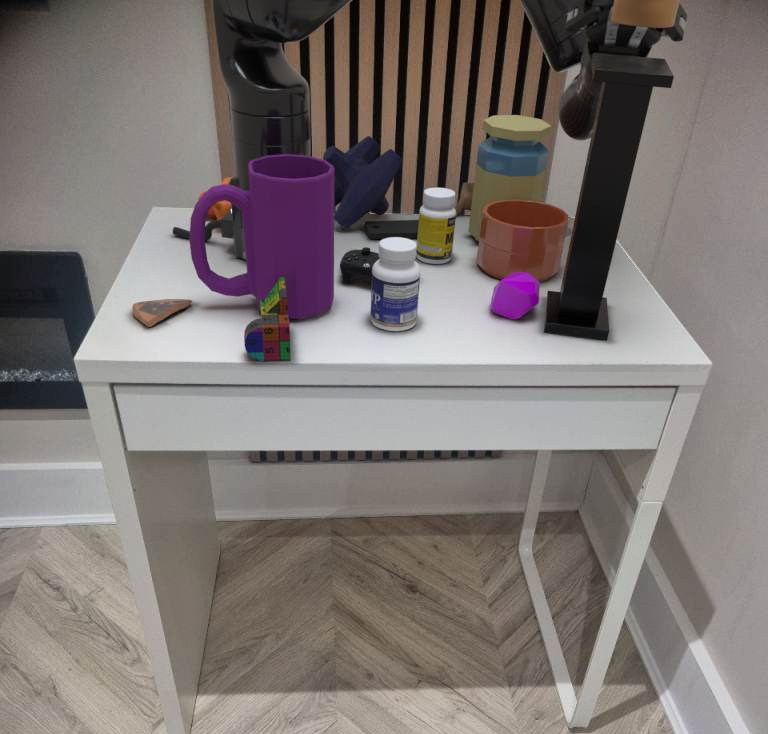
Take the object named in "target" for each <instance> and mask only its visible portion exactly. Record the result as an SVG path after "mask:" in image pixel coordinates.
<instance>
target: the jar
mask: <svg viewBox="0 0 768 734" xmlns="http://www.w3.org/2000/svg"><path fill="white" fill-rule="evenodd" d="M481 129H482V130H483V131H484V132H485V133H486V134H488V136H489V137H487V138H486V139H484V140H483V141H481V142H480V143H479V144H478V145H477V155H476V163H475V172H474V182H473V183H474V188H473V197H472V206H471V211H470V214H469V223H468V232H469V233H470V234H471V236H473V237H474V239H475V240H476V241H478V242H479V237H480V229H481V221H482V213H483V209H484V206H486V205H487V204H489V203H491V202H495V201H500V200H513V199H521V200H530V201H537V202H541V199H542V194H543V190H544V189H543V188H544V182H545V177H546V171H547V165H548V159H549V155H550V150H549V149H548V148H547V147H546V146H545V145H544V144H543V143H542V142H541V141H542V140H543V139H545V138H548V137H549V136H550V135H551V130H552V125H551V124H549V123H547V122H546V121H545V120H543V119H541V118H536V117H531V116H525V115H519V114H495V115H491V116H489V117H487V118H484V119H483V120H482V128H481Z"/></svg>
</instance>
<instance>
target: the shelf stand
mask: <svg viewBox="0 0 768 734" xmlns="http://www.w3.org/2000/svg"><path fill="white" fill-rule="evenodd" d="M591 67H592V77H593V81H595V82H602V86H601V91H600V96H599V101H598V106H597V111H596V116H595V121H594V126H593V131H592V136H591V138H590V142H589V146H588V151H587V156H586V161H585V166H584V171H583V175H582V179H581V186H580V191H579V195H578V199H577V200H578V201H577V205H576V209H575V215H574V220H573V225H572V231H571V235H570V239H569V240H570V241H569V245H568V250H567V255H566V260H565V265H564V269H563V275H562V281H561V285H560V289H559V291H555V290H547V293H546V297H545V308H544V326H543V333H546V334H553V335H561V336H568V337H569V336H570V337H576V338H584V339H593V340H601V341H608V339H609V335H610V321H609V320H610V319H609V307H608V297H604V294H605V289H606V285H607V281H608V276H609V274H610V269H611V265H612V260H613V256H614V252H615V247H616V243H617V240H618V236H619V231H620V227H621V222H622V218H623V214H624V210H625V207H626V202H627V198H628V193H629V189H630V185H631V181H632V178H633V172H634V169H635V164H636V160H637V157H638V151H639V148H640V144H641V140H642V135H643V131H644V127H645V123H646V118H647V115H648V110H649V105H650V101H651V97H652V94H653V91H654V90H653V89H654V88H663V89H664V88H665V89H672V86H673V83H674V78H675V75H674V74H673V71H672V69H671V68H670V66H669V64H668V62H667V60H666V58H658V57H637V56H625V55H613V54H601V53H593V56H592V62H591Z"/></svg>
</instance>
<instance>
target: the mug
mask: <svg viewBox="0 0 768 734" xmlns="http://www.w3.org/2000/svg"><path fill="white" fill-rule="evenodd" d="M248 170H249V186H250V190H247V191H244V190H242V189H240V188H238V187H236V186H232V185H226V184H222V185H220V184H218V185H213V186H211V187H209V189H207V190H206V192H205V191H204V192H205V193H204V194H203V196H202V197H201V198H200V199H199V201H198V200H197V202H196V203H195V205H194V207H193V210H192V213H191V216H190V225H189V231H190V238H189V239H188V240H189V241H188V242H189V248H190V255H191V256H190V257H191V261H192V264H193V266H194V270H195V272H196V276H197V278H198V279H199V280H200V281H201V282H202V283H203V284H204V285H205V286H206V287H207V288H208V289H209V290H210V291H211V292H214V293H216V294H218V295H219V294H220V295H223V296H228V297H236V298H237V297H239V298H240V297H243V296H247V295H252V296H254V297H255V298H256V305H257V307H258V309H259V311H261V304H260V301H265V299H266V298H267V296H268V295H269V293H270V292H271V290H272V289H273V287H274V286H275V285H276V283H277V282H278V280H279V279H280V277H285V284H286V291H287V303H288V318H289V319H293V320H298V319H299V320H300V319H305V318H311V317H313V318H314V317H317V316H318V315H320V314H322V313H324V312H326V311H329V309H331V307H332V304H333V301H334V298H335V219H334V215H335V207H334V184H335V169H334V167H333V166H332V165H331V164H330V163H328V162H327V161H326V160H323V158H318V157H314V156H312V155H311V156H306V155H293V154H281V155H268V156H264V157H261V158H257V159H254V160H251V161H250V162H249V164H248ZM224 200H226V201H228V202H230V203H232V204H233V205H235V206H236V207H238V208H239V209H240V210H242V218H243V229H244V241H245V253H246V260H245V263H246V272H245V273H242V274H238V275H235V276H232V277H230V278H228V277H226V276H223V275H219V274H218V273H216V271H215V272H214V270H212V269H211V267H210V264H209V261H208V254H207V247H206V241H205V227H206V222H207V218H208V215H207V214H208V211H209V210H210V208H211V207H212V206H213V205H214V204H216V203H217V202H219V201H224Z"/></svg>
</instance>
